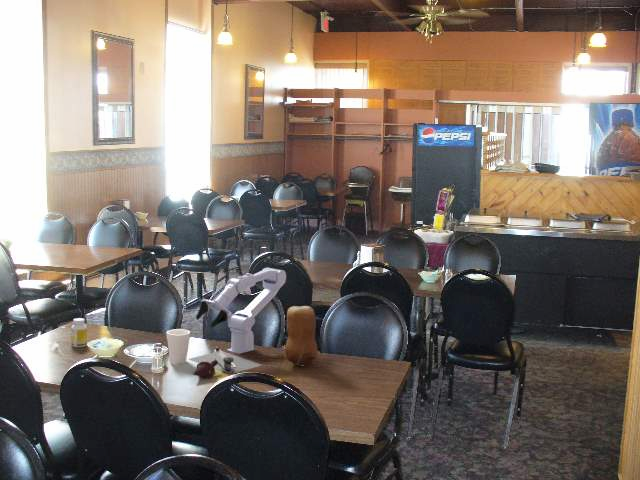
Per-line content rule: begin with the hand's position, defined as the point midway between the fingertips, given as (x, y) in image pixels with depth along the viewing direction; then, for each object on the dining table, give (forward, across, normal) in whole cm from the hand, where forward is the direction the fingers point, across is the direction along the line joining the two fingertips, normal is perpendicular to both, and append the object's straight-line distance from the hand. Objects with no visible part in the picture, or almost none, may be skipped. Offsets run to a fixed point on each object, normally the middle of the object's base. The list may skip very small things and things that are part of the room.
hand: (204, 321), depth 317 cm
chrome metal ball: (+12, +20, +6) cm, 24 cm away
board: (+5, +13, +14) cm, 19 cm away
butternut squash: (-11, +39, +15) cm, 44 cm away
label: (+7, +16, +10) cm, 21 cm away
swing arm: (+8, +14, +10) cm, 19 cm away
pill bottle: (+26, -51, +23) cm, 62 cm away
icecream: (+21, +16, +2) cm, 26 cm away
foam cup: (+16, -3, +12) cm, 20 cm away
